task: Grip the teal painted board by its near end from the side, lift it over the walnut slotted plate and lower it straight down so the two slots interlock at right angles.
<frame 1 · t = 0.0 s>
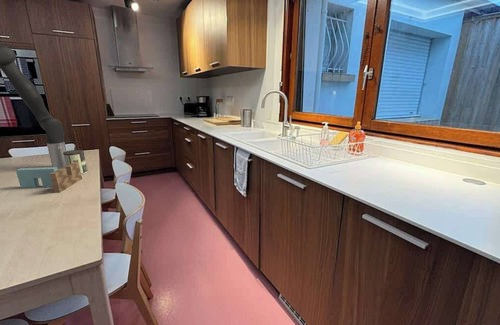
coffee can: (78, 173, 149), on the table
cross plate: (41, 186, 128), on the table
base plate: (69, 185, 130), on the table
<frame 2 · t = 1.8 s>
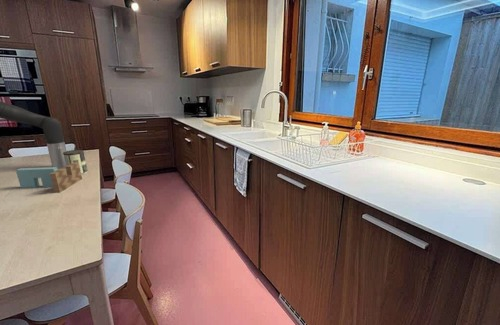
nothing on the table moved.
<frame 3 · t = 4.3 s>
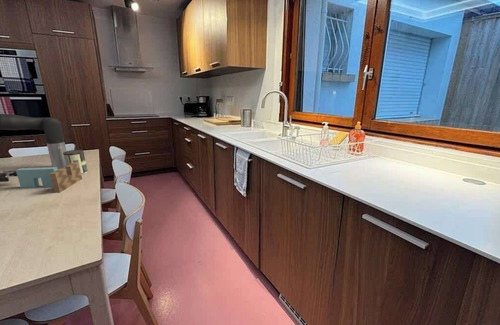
hand: (15, 176, 125), 6 cm above the table, fingers open, 8 cm apart
nothing on the table moved.
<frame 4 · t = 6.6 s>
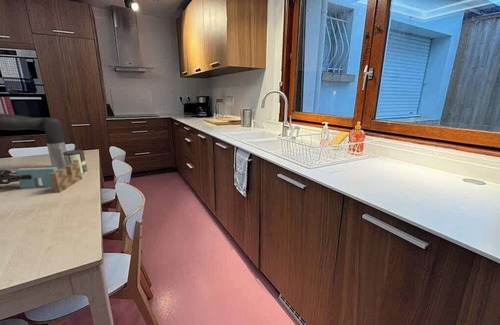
hand: (33, 175, 126), 6 cm above the table, fingers closed on cross plate, 3 cm apart
cross plate: (41, 186, 128), on the table, touching gripper
everything else where it was.
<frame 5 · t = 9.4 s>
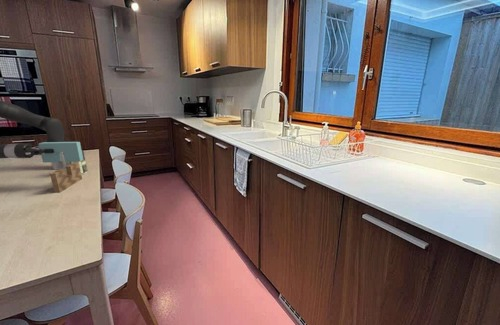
hand: (55, 150, 124), 20 cm above the table, fingers closed on cross plate, 3 cm apart
cross plate: (63, 161, 126), point 14 cm above the table, touching gripper
everything else where it was.
when the fingers open (7 cm above the table, at t = 12.4 s): cross plate drops 1 cm, on the table.
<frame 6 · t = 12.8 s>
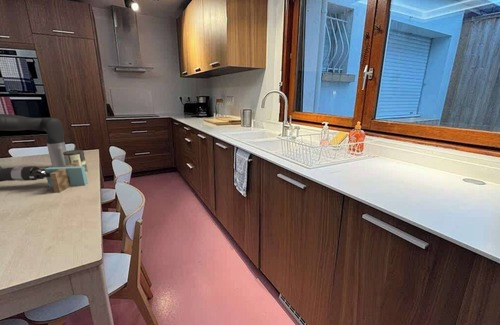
hand: (59, 172, 127), 8 cm above the table, fingers open, 6 cm apart
cross plate: (68, 185, 130), on the table
everything else where it was.
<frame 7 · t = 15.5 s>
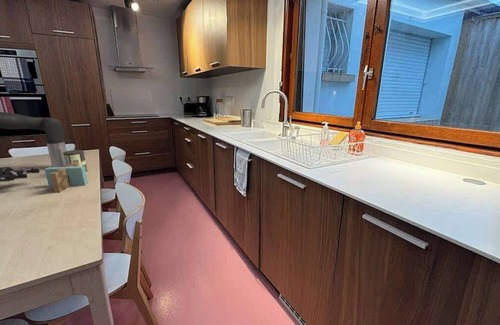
hand: (33, 173, 126), 7 cm above the table, fingers open, 8 cm apart
nothing on the table moved.
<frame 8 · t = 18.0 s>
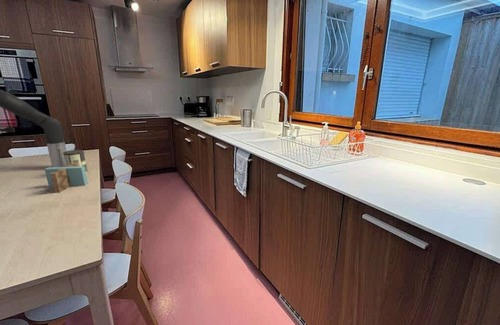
hand: (6, 131, 119), 30 cm above the table, fingers open, 8 cm apart
nothing on the table moved.
at the end: cross plate 0.3 cm off-centre on the base plate, point 0.0 cm above the base plate's base; cross plate tilted 0°; the gripper is holding nothing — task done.
